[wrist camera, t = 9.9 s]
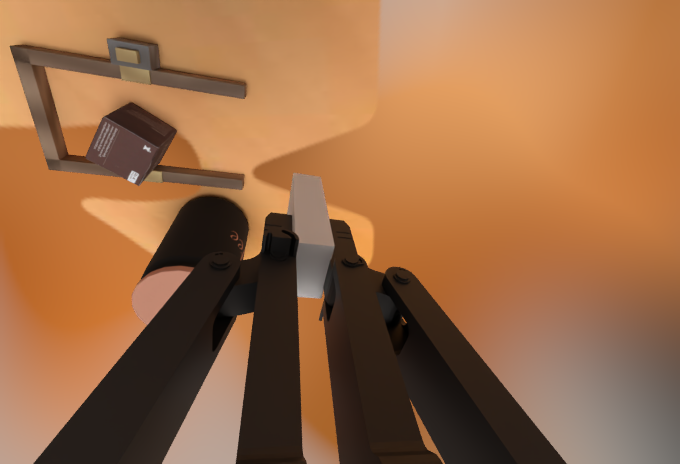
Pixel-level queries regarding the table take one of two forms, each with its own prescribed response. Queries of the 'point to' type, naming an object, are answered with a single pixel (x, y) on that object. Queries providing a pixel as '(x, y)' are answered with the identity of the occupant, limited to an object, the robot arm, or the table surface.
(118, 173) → the box
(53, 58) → the brown angular bar frame
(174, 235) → the coffee jar
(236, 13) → the table surface
